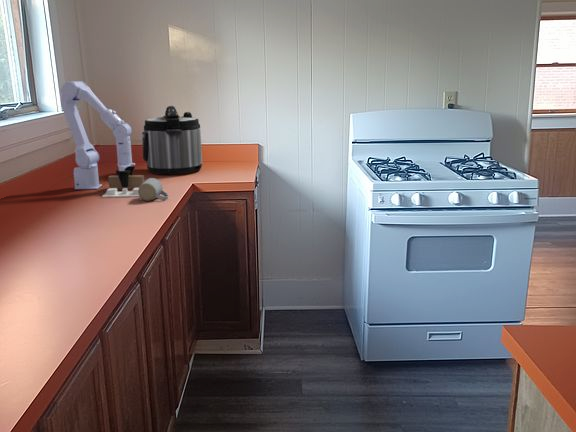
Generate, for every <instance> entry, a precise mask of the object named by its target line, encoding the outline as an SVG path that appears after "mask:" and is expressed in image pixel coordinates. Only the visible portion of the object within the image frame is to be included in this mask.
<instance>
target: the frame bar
mask: <svg viewBox="0 0 576 432" xmlns="http://www.w3.org/2000/svg"><path fill="white" fill-rule="evenodd" d="M107 180H108V189H109V188H117V190H122V189H123V188H127V189H128V190H133V189H134V188H139V187H140V185H141V184H142V183H144V182H145V176H144V174H143V175H141V174H137V175H136V174H133V175H129V178H128V187H122V185H121V182H120V179H119V177H118V175H109V176H108V178H107Z"/></svg>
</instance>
